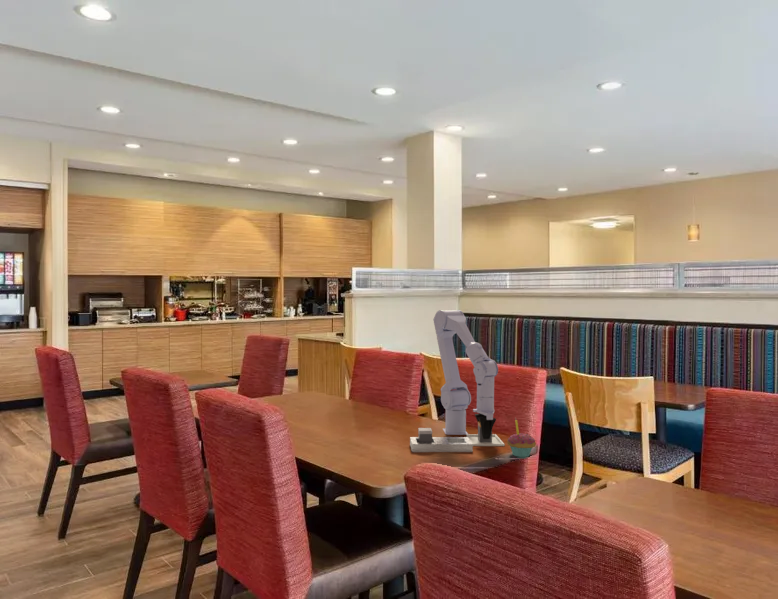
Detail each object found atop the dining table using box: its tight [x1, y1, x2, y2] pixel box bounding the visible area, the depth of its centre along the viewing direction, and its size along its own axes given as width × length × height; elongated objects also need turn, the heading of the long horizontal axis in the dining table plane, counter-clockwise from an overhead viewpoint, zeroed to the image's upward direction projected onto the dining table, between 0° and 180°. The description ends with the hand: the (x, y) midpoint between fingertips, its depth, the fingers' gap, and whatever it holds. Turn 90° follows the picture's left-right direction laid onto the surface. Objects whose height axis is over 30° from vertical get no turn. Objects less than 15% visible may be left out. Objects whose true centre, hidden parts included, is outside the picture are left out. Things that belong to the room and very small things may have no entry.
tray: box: [465, 433, 505, 447], centre depth 205 cm, size 13×10×1 cm
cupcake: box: [506, 417, 537, 460], centre depth 188 cm, size 9×8×12 cm
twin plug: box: [417, 427, 433, 443], centre depth 195 cm, size 4×4×6 cm
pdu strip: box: [409, 436, 474, 453], centre depth 195 cm, size 9×19×3 cm, turn 92°
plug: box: [477, 422, 493, 442], centre depth 205 cm, size 4×4×6 cm
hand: (484, 436), depth 205 cm, fingers closed on plug, 4 cm apart
